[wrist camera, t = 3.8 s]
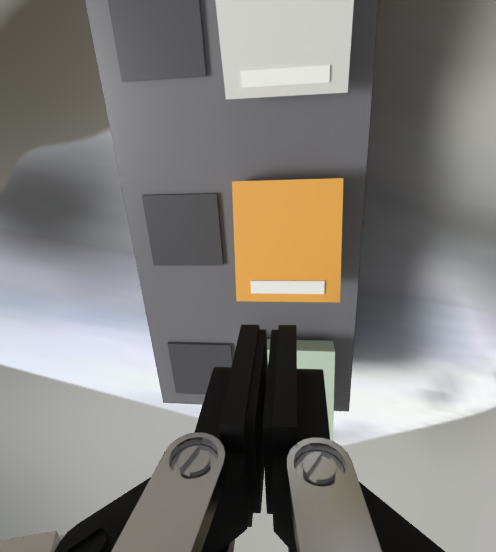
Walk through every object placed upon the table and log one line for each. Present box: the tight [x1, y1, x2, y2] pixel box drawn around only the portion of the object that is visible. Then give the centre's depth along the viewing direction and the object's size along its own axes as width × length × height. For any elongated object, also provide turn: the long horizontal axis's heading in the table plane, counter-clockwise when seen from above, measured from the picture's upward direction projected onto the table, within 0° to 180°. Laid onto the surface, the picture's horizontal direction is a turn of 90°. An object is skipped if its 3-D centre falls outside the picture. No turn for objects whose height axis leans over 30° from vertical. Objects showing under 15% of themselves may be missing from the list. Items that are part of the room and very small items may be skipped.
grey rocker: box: [215, 0, 354, 99], centre depth 12 cm, size 4×5×1 cm
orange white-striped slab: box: [232, 178, 343, 303], centre depth 15 cm, size 4×5×1 cm
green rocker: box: [267, 339, 335, 441], centre depth 19 cm, size 4×5×1 cm
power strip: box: [85, 0, 379, 411], centre depth 17 cm, size 10×25×4 cm, turn 3°
